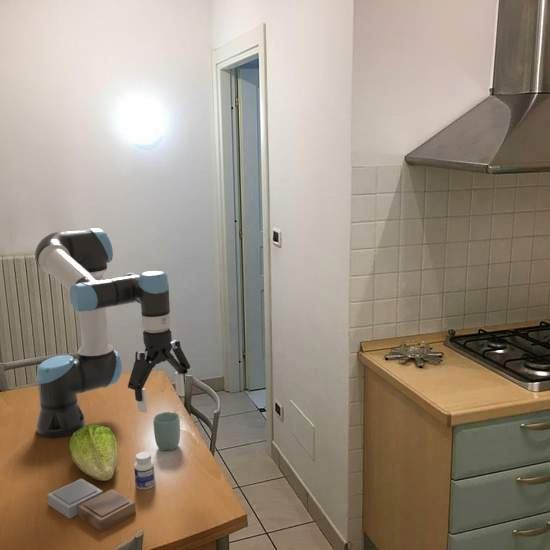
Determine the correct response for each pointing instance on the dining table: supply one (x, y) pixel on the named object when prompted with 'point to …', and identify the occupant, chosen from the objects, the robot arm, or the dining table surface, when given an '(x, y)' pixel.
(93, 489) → the stand
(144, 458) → the pill bottle
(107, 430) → the lettuce
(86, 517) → the stand
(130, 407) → the dining table surface
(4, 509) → the dining table surface
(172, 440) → the cup
